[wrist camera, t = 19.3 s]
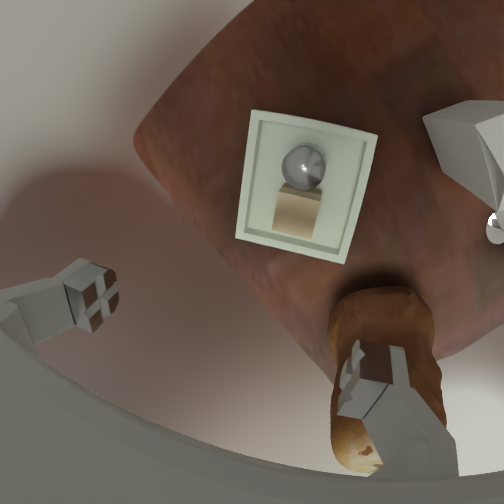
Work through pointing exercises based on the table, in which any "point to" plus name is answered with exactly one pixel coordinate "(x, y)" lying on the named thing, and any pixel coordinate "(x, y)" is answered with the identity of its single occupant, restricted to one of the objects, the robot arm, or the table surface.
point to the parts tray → (333, 188)
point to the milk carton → (471, 147)
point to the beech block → (296, 211)
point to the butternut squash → (389, 333)
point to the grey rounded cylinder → (304, 166)
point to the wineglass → (496, 228)
